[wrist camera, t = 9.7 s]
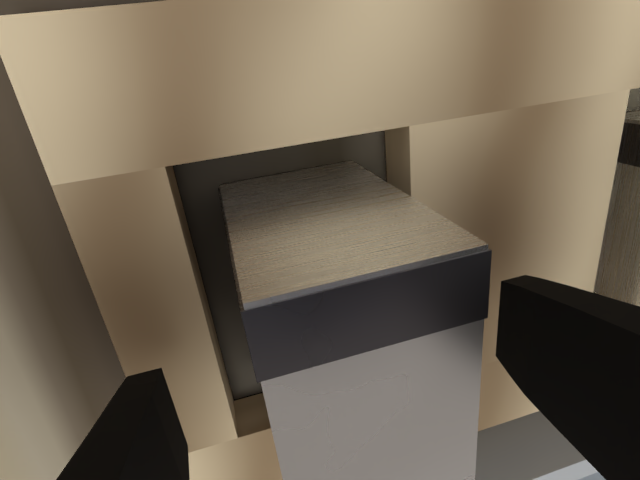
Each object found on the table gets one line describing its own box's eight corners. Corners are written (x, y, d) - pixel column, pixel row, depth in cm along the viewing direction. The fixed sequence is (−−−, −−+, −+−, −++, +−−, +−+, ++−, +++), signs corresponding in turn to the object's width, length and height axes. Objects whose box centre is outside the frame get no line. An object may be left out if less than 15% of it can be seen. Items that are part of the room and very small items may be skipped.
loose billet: (353, 160, 11) (492, 244, 6) (368, 336, 14) (476, 507, 9) (217, 185, 11) (239, 305, 5) (258, 367, 13) (301, 574, 8)
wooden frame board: (812, -52, 13) (883, -66, 11) (695, 326, 18) (733, 346, 17) (19, 24, 8) (-15, 16, 7) (186, 485, 14) (185, 529, 13)
